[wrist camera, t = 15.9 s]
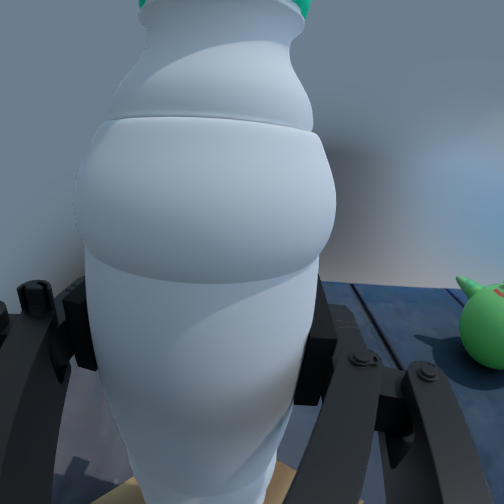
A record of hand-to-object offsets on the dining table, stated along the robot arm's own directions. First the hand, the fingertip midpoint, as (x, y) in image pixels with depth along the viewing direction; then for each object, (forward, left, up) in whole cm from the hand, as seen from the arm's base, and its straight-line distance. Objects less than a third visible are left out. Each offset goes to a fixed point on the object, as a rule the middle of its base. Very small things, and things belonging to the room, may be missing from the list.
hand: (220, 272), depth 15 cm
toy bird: (+25, +42, -22) cm, 54 cm away
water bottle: (+3, -4, -13) cm, 14 cm away
